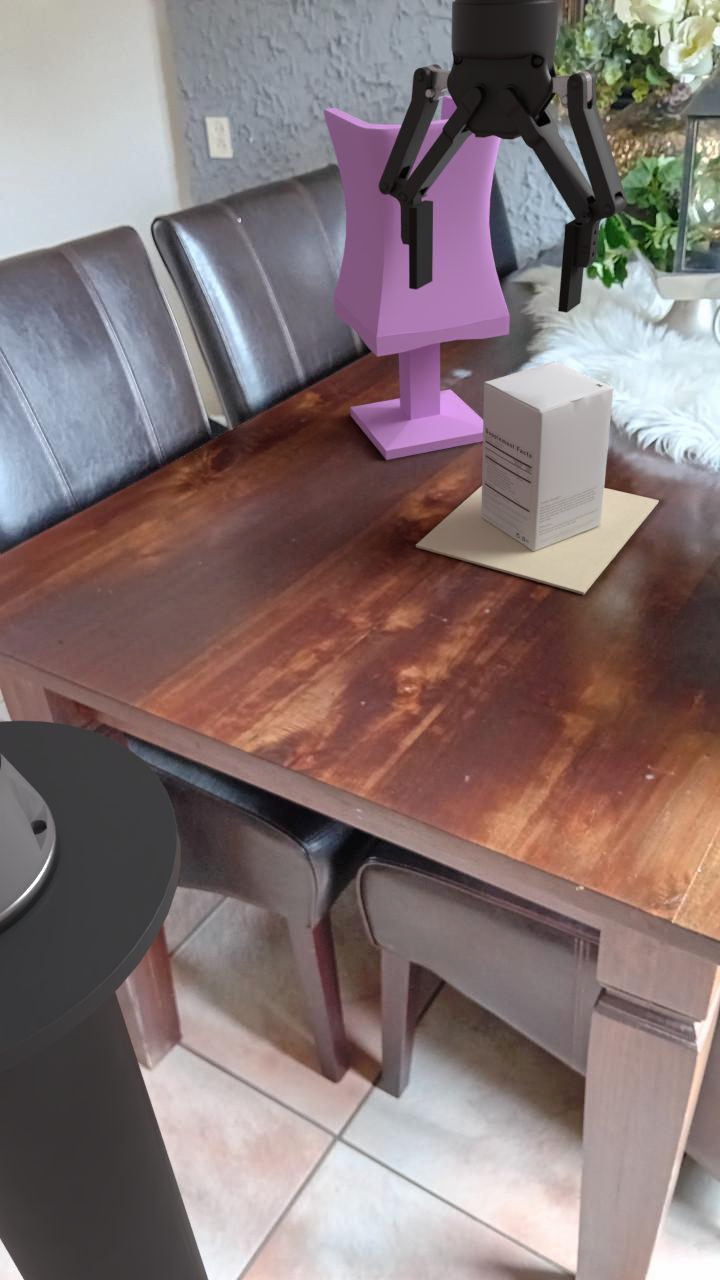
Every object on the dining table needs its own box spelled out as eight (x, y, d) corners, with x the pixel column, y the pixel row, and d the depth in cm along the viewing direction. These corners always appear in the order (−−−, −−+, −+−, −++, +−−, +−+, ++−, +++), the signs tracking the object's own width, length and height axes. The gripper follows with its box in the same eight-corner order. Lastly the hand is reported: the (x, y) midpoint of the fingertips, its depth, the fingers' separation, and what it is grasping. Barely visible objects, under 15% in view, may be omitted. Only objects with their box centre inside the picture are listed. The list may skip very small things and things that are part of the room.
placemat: (415, 547, 101) (415, 544, 101) (504, 467, 114) (504, 464, 114) (583, 595, 93) (584, 592, 92) (658, 502, 106) (658, 500, 106)
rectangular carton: (546, 492, 108) (555, 358, 99) (602, 526, 102) (617, 386, 93) (477, 517, 105) (481, 379, 96) (531, 553, 98) (540, 410, 90)
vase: (454, 393, 132) (456, 94, 111) (504, 440, 120) (517, 114, 99) (341, 414, 128) (321, 108, 108) (381, 464, 116) (368, 131, 95)
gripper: (698, -14, 67) (654, 303, 80) (382, -13, 79) (387, 265, 91) (661, -6, 62) (620, 332, 75) (329, -6, 74) (341, 287, 86)
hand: (492, 296), depth 83 cm, fingers open, 13 cm apart
